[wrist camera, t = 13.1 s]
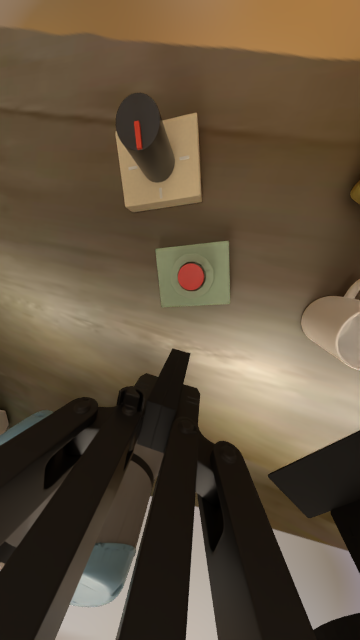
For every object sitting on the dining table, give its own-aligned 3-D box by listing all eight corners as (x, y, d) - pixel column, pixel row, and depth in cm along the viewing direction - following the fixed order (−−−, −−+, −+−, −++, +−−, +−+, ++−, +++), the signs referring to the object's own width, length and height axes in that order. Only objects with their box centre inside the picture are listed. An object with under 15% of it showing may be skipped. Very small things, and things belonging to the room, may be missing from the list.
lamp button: (180, 290, 31) (178, 291, 30) (178, 264, 30) (176, 264, 29) (205, 288, 31) (204, 289, 29) (203, 262, 30) (203, 262, 28)
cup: (290, 333, 34) (322, 358, 24) (325, 265, 30) (378, 263, 20) (338, 349, 33) (390, 381, 23) (378, 282, 29) (460, 287, 20)
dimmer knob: (139, 146, 28) (110, 96, 20) (173, 139, 27) (156, 84, 19) (143, 185, 29) (117, 152, 21) (176, 179, 28) (161, 143, 20)
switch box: (164, 305, 36) (158, 309, 32) (158, 250, 34) (151, 247, 30) (229, 301, 34) (231, 305, 30) (227, 242, 32) (229, 238, 28)
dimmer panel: (132, 212, 33) (124, 206, 30) (124, 144, 31) (114, 130, 28) (202, 202, 31) (200, 194, 28) (198, 127, 28) (196, 111, 25)
